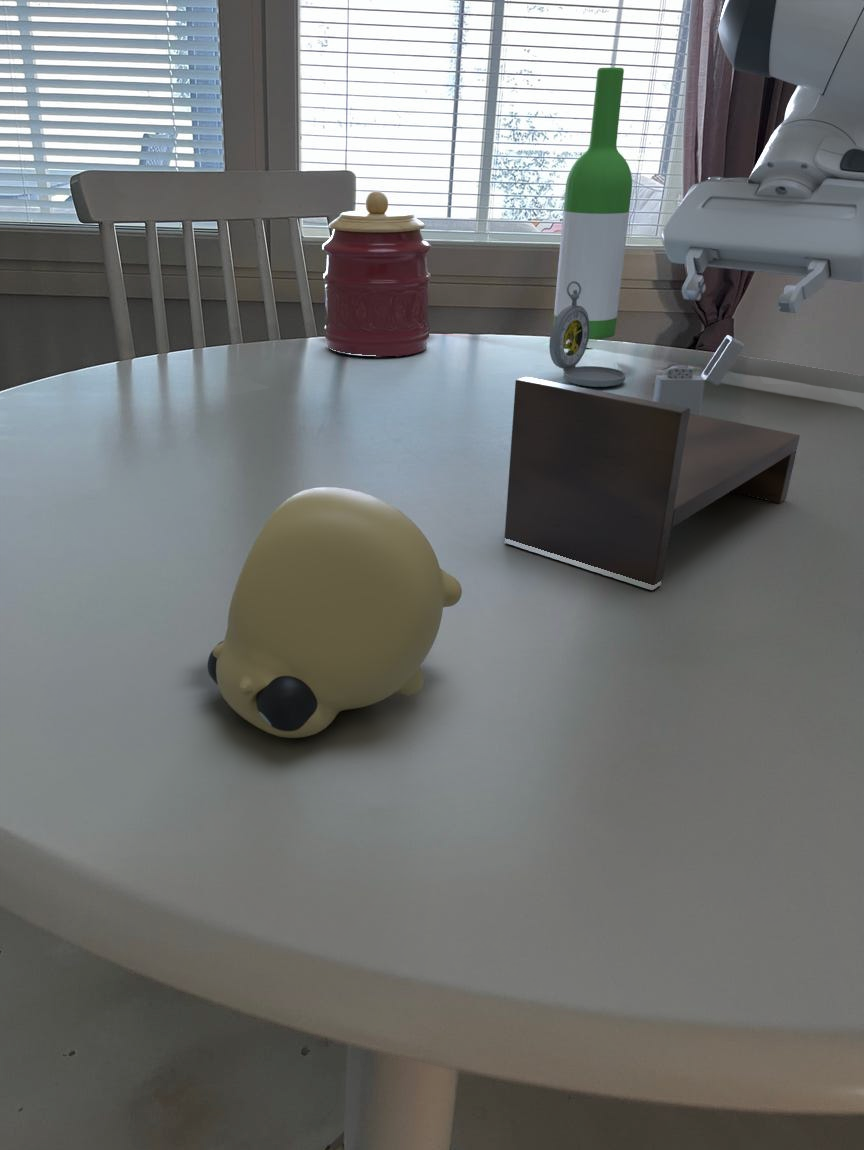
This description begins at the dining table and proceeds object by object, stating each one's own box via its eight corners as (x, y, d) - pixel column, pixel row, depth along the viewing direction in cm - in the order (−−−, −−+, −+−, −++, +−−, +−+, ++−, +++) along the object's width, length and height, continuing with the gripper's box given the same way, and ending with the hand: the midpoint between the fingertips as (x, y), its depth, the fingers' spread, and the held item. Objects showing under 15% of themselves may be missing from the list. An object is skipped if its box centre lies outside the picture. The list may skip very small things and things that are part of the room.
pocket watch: (626, 391, 98) (639, 291, 93) (545, 387, 100) (553, 288, 95) (622, 373, 105) (634, 279, 101) (547, 370, 107) (555, 276, 102)
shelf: (786, 499, 70) (819, 350, 65) (652, 592, 57) (681, 412, 51) (652, 467, 77) (673, 329, 71) (503, 544, 63) (515, 379, 58)
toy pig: (287, 714, 51) (128, 637, 44) (406, 531, 51) (266, 424, 44) (384, 805, 44) (212, 731, 37) (524, 592, 44) (378, 476, 37)
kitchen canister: (303, 346, 117) (297, 190, 108) (380, 332, 125) (380, 186, 116) (372, 364, 109) (372, 197, 100) (450, 348, 116) (456, 191, 108)
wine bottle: (565, 352, 115) (593, 65, 100) (542, 339, 121) (564, 69, 107) (624, 349, 116) (659, 67, 102) (597, 337, 123) (627, 70, 108)
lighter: (653, 425, 87) (666, 337, 83) (649, 420, 89) (661, 333, 85) (729, 426, 87) (746, 338, 83) (724, 421, 89) (740, 334, 85)
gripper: (690, 152, 93) (628, 267, 91) (912, 159, 81) (845, 292, 79) (702, 200, 98) (643, 309, 96) (912, 213, 86) (849, 338, 84)
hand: (736, 302), depth 87 cm, fingers open, 8 cm apart
